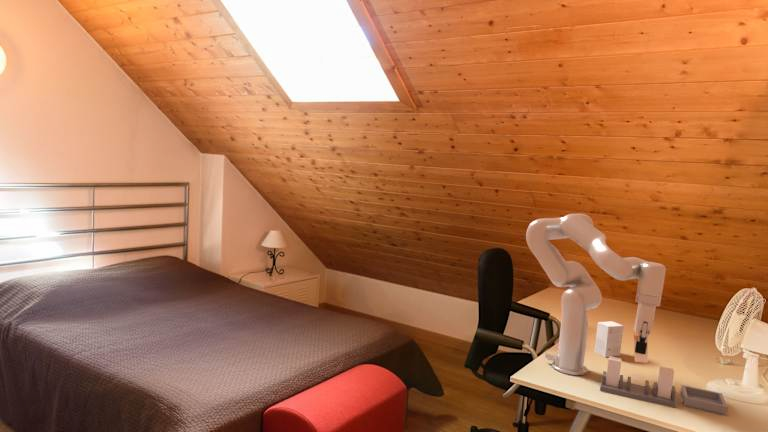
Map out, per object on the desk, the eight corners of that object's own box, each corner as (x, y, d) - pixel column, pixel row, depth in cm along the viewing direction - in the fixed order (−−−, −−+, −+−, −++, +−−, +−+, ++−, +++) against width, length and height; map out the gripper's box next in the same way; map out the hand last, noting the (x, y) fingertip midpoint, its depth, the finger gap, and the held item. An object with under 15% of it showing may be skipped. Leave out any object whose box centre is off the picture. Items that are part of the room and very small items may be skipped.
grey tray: (683, 406, 177) (684, 397, 177) (680, 393, 188) (681, 384, 188) (726, 415, 173) (727, 406, 172) (720, 401, 183) (721, 393, 183)
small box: (608, 350, 228) (612, 320, 227) (620, 356, 223) (624, 325, 221) (593, 352, 225) (597, 321, 224) (605, 357, 219) (609, 326, 218)
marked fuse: (634, 361, 183) (634, 335, 183) (634, 357, 187) (634, 332, 186) (647, 362, 181) (647, 336, 181) (647, 358, 185) (647, 333, 185)
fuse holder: (599, 390, 185) (603, 361, 184) (601, 380, 194) (604, 352, 193) (675, 407, 176) (679, 376, 175) (673, 396, 185) (677, 367, 184)
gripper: (636, 291, 191) (628, 341, 193) (636, 302, 176) (627, 356, 178) (659, 296, 188) (651, 346, 190) (661, 306, 173) (652, 361, 175)
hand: (640, 350), depth 184 cm, fingers closed on marked fuse, 4 cm apart
